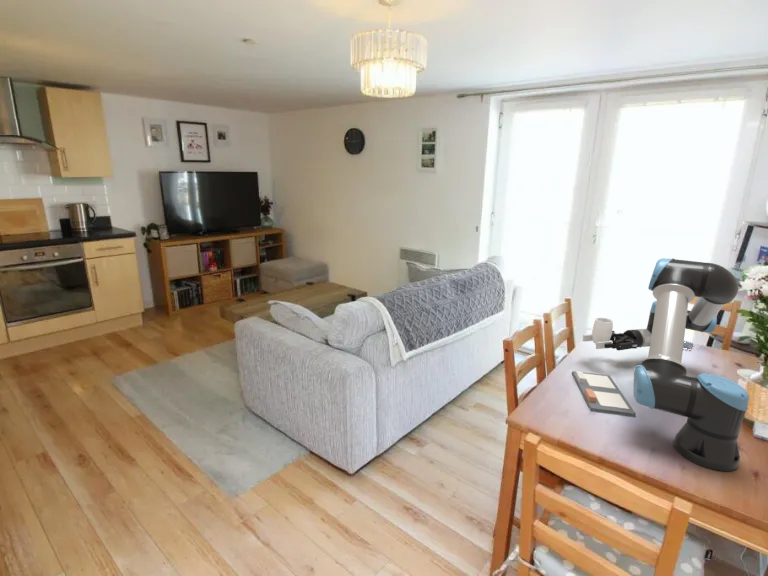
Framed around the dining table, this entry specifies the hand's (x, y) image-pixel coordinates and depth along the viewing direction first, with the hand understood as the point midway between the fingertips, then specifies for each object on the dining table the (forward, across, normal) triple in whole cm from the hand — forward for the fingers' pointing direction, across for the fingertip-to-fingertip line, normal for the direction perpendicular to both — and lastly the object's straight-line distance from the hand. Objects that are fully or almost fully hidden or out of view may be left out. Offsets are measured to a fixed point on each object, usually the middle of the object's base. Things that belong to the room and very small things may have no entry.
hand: (590, 341), depth 167 cm
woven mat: (-65, +14, -13) cm, 67 cm away
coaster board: (+8, -18, -12) cm, 23 cm away
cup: (-5, 0, -12) cm, 13 cm away
